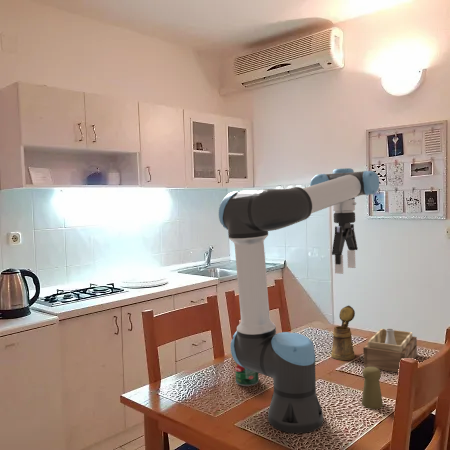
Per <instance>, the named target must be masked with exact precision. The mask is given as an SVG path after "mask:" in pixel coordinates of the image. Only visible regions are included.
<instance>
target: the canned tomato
mask: <svg viewBox="0 0 450 450" xmlns="http://www.w3.org/2000/svg"><path fill="white" fill-rule="evenodd" d="M234 368H235V369H234V370H235V371H234V372H235V383H236V384H237V385H238V386H243V387H250V386H251V385H252V386H255V385H258V383H259V382H260V379H259V373H257V372H254V371H250V370H247V369H245V368H244V367H242V366H240V365H238V364H237V363H236V362H235V361H234ZM252 386H251V387H252Z"/></svg>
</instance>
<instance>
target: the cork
mask: <svg viewBox="0 0 450 450" xmlns="http://www.w3.org/2000/svg"><path fill="white" fill-rule="evenodd" d="M381 377H382V372H381V370H380V369H378V368H376V367H364V368H363V370H362V378H363V379H364V380H363V381H364V382H363V389H362V390H363V391H362V397H361V398H362V399H361V405H362V406H363V407H364V408H366V409H370V410H380V409H382V408H383V407H384V403H383V397H382V391H381V390H382V389H381V385H380V379H381Z"/></svg>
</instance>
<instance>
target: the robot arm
mask: <svg viewBox="0 0 450 450" xmlns="http://www.w3.org/2000/svg"><path fill="white" fill-rule="evenodd" d="M379 188H380V178H379V176H378V173H377V172H375V171H373V170H363V171H355V169H353V168H352V167H351V168H346V167H345V168H335V169H333V170H332V173H320V174H319V173H318V174H316V175H314V176H313V177H312V178H311V180H310V183H309V186H307V187H304V188H303V187H300V186H294V187H291V188H279V189H278V188H263V189H244V190H243V189H241V190H235V191H232V192H229V193H228V194H226V195H225V196H224V198H223V199H222V200H221V202H220V204H219V207H218V220H219V223H220V224H221V225H222V226H223V228H224V229H226V230H227V234H228V239H229V240H230V241H232V243H234V252H235V264H236V265H235V266H236V267H235V268H236V276H237V278H236V280H237V287H238V288H237V289H238V290H237V291H238V300H239V310H240V312H239V313H240V323H238V325H237V326H236V331H235V332H234V334H233V335H232V339H231V341H230V354H231V356H232V357H231V358H232V359H233V361H234V363H235V362H236V363H237V364H238V365H240V366H242V367H244V368H245V369H247V370H250V371H254V372H257V373H258V374H260V375H263V376H266V377H269V378H272V380H273V394H272V397H271V402H270V404H269V408H268V411H267V415H268V416H267V419H268V423H269V424H270V425H271V426H272V427H273V428H275V429H277V430H279V431H281V432H286V433H289V434H290V433H292V434H304V433H311V432H314V431H317V430H318V429H319V428H321V427H322V426H323V423H324V412H323V409H322V406H321V404H320V401H319V399H318V398H319V397H318V395H317V388H316V387H317V386H316V385H317V384H316V353H315V352H316V351H315V345H314V342H313V341H312V340H311V338H309V337H307V336H306V335H304V334H301V333H297V332H290V331H282V332H278V333H277V328H276V324H275V323H274V322H273V321H272V320H271V316H270V304H269V294H268V293H269V292H268V282H267V281H268V279H267V266H266V256H265V253H266V252H265V242H264V241H265V240H266V239H267V237H268V236H269V232H271V231H272V232H273V231H277V230H280V229H284V228H286V227H290V226H292V225H295V224H297V223H300V222H303V221H305V220H307V219H309V218H310V216H311V215H312V214H313V213H317V212H319V211H322V210H324V209H327V208H330V207H332V208H333V212H334V213H333V223H334V224H337V225H338V226H336V225H335V227H334V236H333V242H332V243H333V244H332V248H331V249H332V250H331V255H332V256H334V273H335V274H340V275H341V274H343V275H344V255H343V250H344V246H345V243H346V246H347V251H346V252H347V253H346V254H347V255H346V256H347V268H350V269H355V268H356V251H358V244H357V239H356V232H355V224H353V223H355V222H356V212H355V210H356V205H357V202H356V200H355V198H357V197H359V196H369V195H370V196H371V195H374V194H376V193H377V192H378V191H379Z"/></svg>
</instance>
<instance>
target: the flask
mask: <svg viewBox="0 0 450 450" xmlns="http://www.w3.org/2000/svg"><path fill="white" fill-rule="evenodd" d="M385 329H386V331H387V336H386V341H385V343H386V344H393V345H397V344H396V341H395V337H394V331H395V330H396V329H394V328H389V327H387V328H385Z"/></svg>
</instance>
